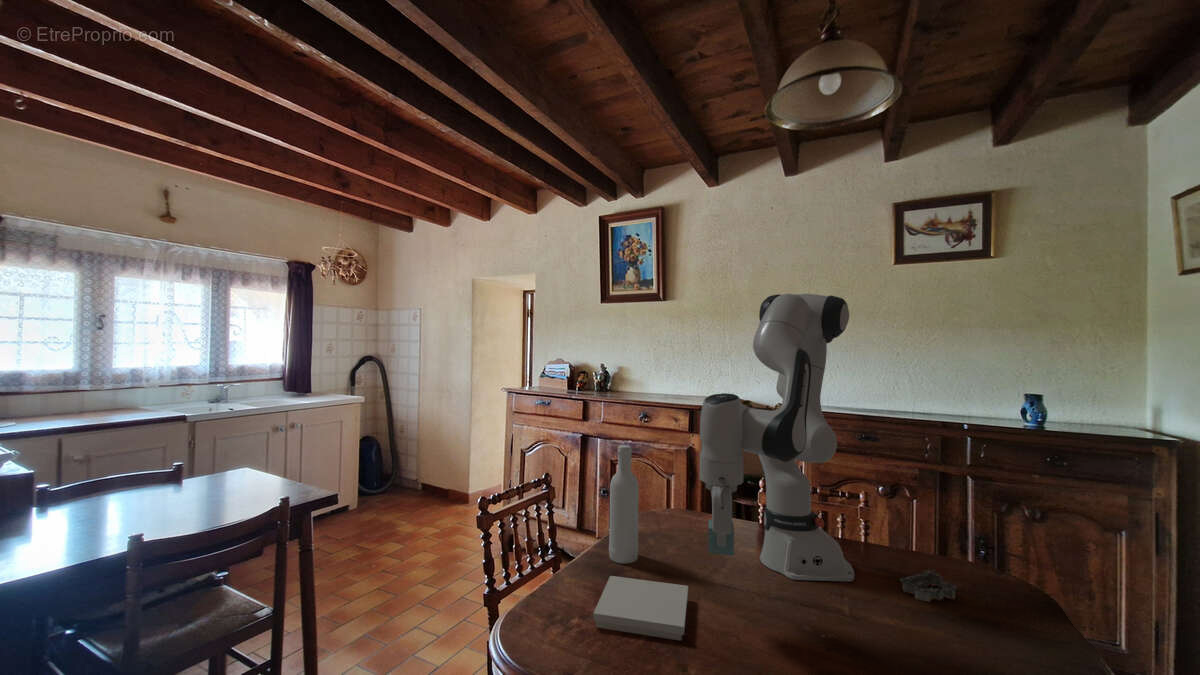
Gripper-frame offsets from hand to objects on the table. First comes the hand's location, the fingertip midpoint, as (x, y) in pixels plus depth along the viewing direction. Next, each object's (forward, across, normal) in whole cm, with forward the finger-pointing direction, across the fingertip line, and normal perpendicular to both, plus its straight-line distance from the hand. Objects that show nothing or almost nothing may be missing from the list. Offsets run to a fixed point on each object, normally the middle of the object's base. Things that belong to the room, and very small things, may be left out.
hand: (721, 538), depth 96 cm
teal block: (+2, 0, 0) cm, 2 cm away
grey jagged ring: (+18, +24, -48) cm, 56 cm away
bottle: (+17, +24, +25) cm, 39 cm away
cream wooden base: (+17, -1, +16) cm, 23 cm away
